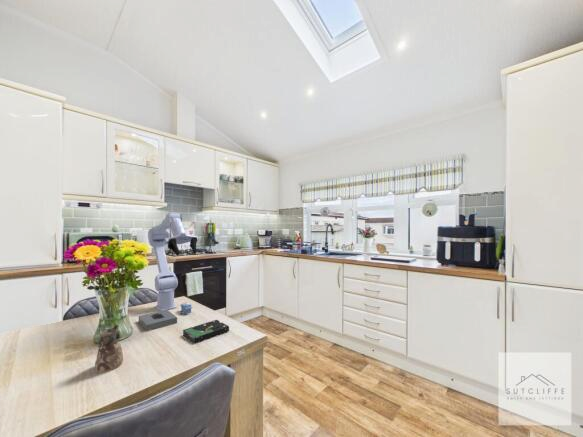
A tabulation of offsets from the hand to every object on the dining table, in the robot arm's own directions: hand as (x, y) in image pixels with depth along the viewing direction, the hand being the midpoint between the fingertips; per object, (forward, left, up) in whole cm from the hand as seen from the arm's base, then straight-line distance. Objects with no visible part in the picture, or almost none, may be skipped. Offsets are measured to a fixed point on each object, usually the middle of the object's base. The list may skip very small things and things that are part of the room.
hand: (187, 253), depth 113 cm
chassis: (-10, -10, -31) cm, 33 cm away
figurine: (+17, -31, -31) cm, 47 cm away
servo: (-14, +4, -31) cm, 34 cm away
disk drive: (+16, +2, -31) cm, 36 cm away
